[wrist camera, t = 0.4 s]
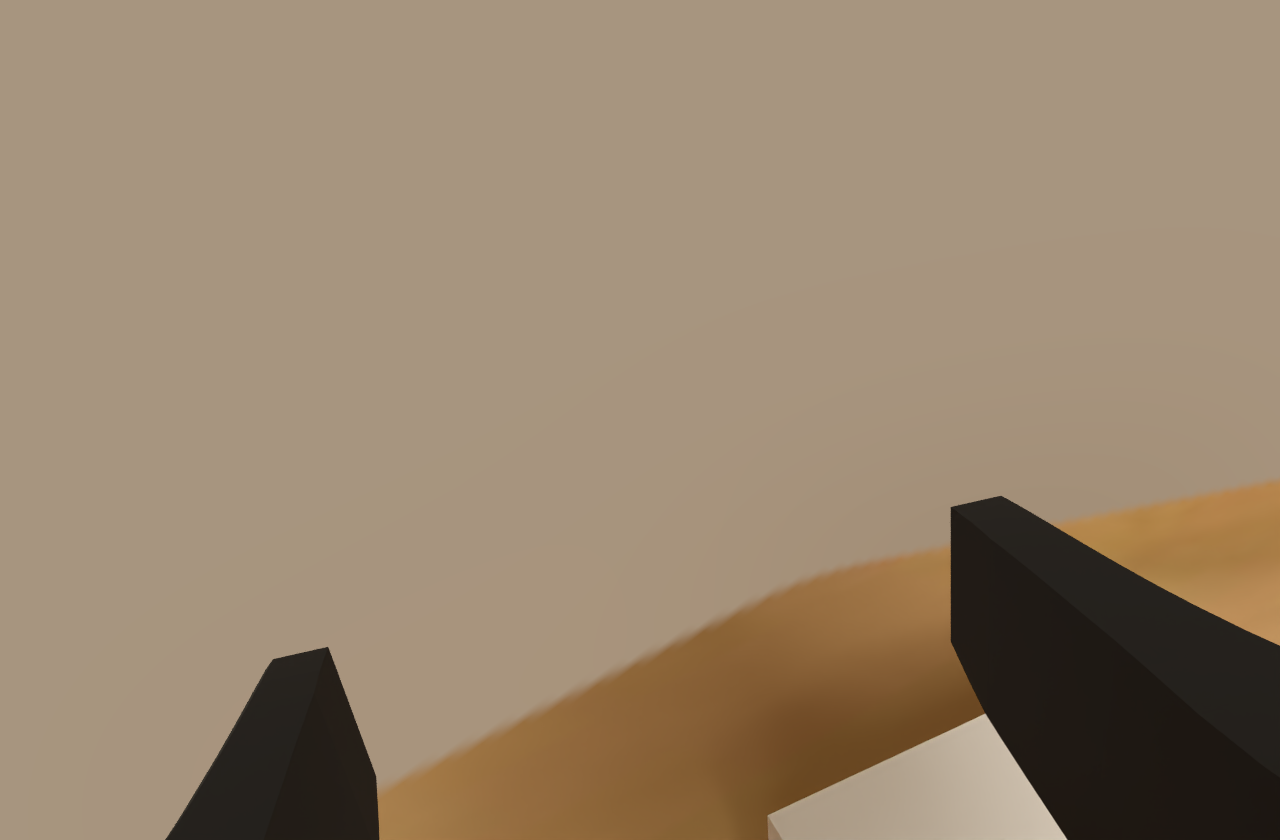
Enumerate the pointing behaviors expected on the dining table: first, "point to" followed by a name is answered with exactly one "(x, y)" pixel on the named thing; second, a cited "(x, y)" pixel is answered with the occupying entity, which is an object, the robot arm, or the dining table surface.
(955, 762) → the white rounded block
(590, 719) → the dining table surface
